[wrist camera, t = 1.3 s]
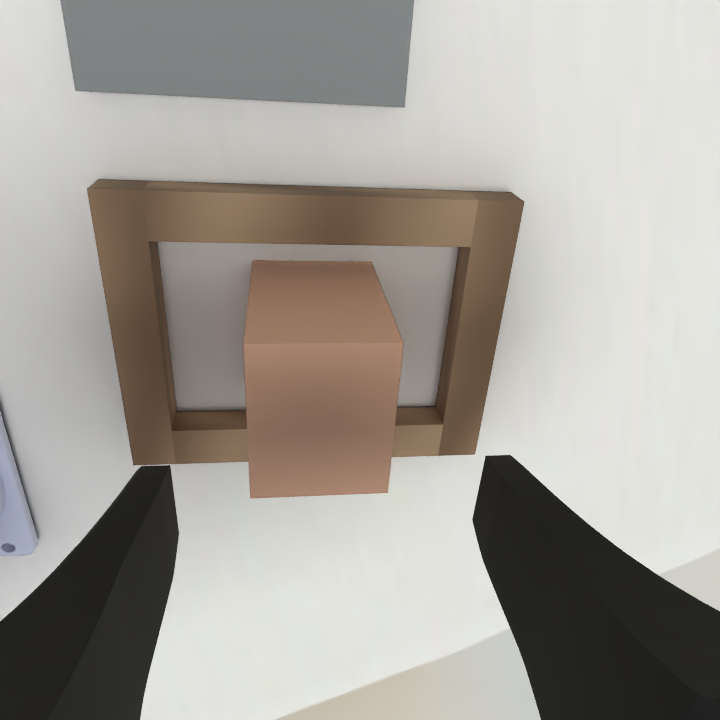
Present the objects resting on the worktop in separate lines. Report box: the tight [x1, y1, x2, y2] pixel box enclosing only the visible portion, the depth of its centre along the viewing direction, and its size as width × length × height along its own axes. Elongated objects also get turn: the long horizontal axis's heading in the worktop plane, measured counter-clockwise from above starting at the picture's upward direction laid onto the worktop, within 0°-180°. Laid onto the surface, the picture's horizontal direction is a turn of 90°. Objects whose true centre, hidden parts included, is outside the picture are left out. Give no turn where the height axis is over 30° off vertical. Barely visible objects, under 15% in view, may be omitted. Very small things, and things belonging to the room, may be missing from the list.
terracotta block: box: [243, 260, 404, 498], centre depth 18 cm, size 4×5×6 cm
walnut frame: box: [87, 179, 524, 465], centre depth 20 cm, size 13×10×1 cm
